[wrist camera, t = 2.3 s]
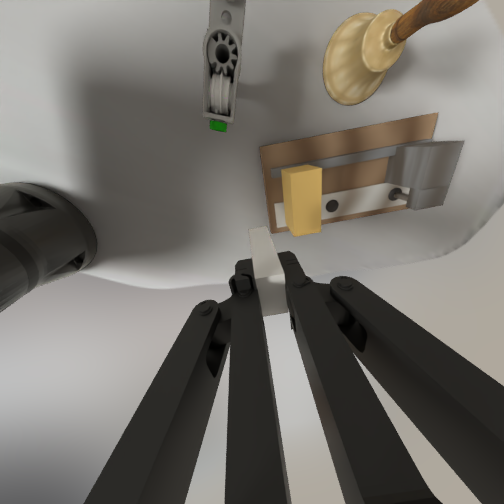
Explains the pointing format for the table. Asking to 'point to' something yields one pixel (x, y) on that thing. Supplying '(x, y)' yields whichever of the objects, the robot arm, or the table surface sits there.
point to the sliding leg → (302, 199)
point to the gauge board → (366, 169)
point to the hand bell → (376, 46)
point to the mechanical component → (222, 61)
